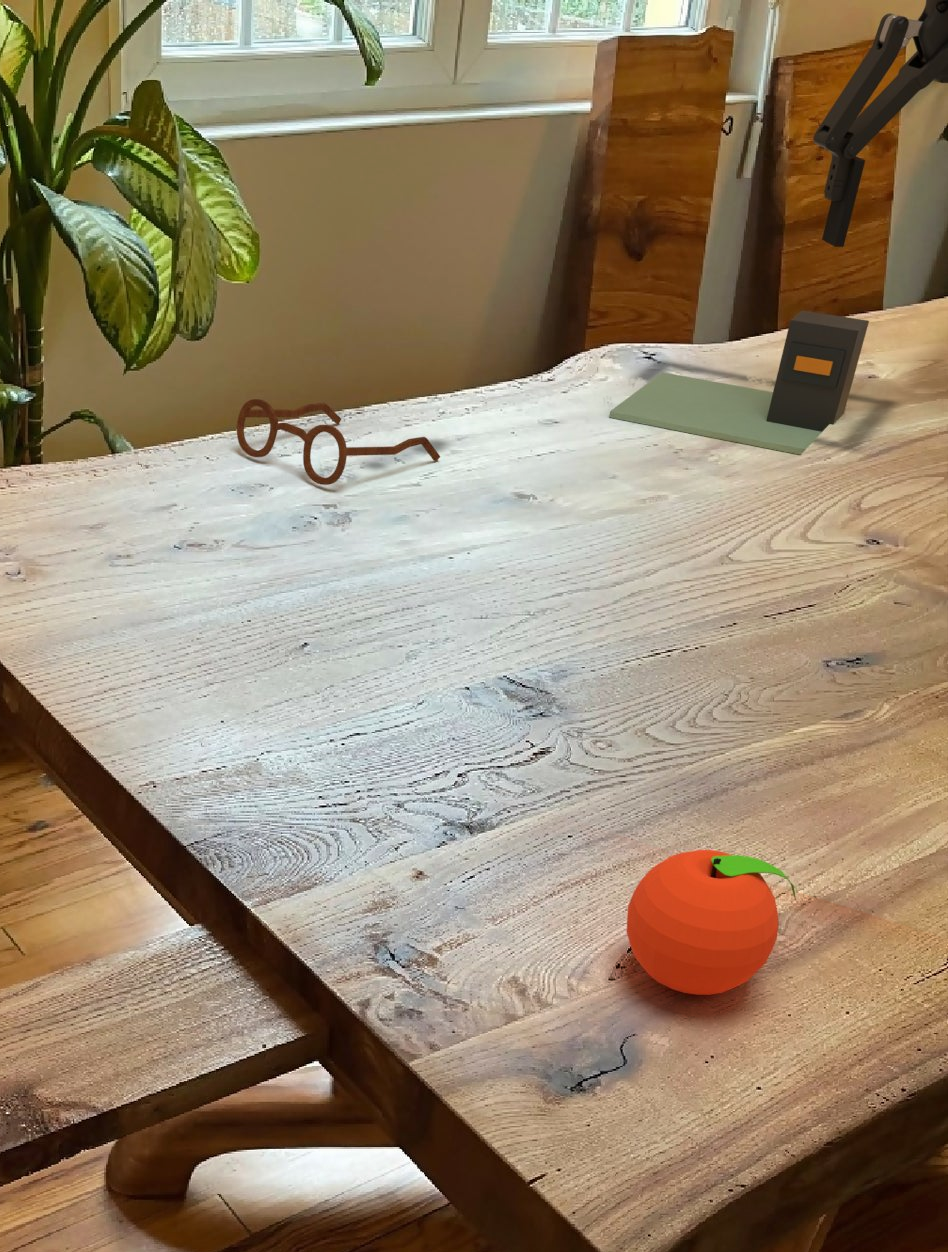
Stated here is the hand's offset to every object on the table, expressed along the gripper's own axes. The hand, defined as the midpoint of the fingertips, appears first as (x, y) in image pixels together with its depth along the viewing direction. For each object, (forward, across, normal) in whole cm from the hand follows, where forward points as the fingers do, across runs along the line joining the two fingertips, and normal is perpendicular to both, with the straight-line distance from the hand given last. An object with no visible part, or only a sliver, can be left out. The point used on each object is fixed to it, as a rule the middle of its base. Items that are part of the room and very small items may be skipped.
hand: (908, 243), depth 126 cm
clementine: (+17, +42, +77) cm, 90 cm away
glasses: (+17, +49, +3) cm, 52 cm away
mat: (+17, +8, -6) cm, 19 cm away
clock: (+16, +4, -3) cm, 17 cm away
